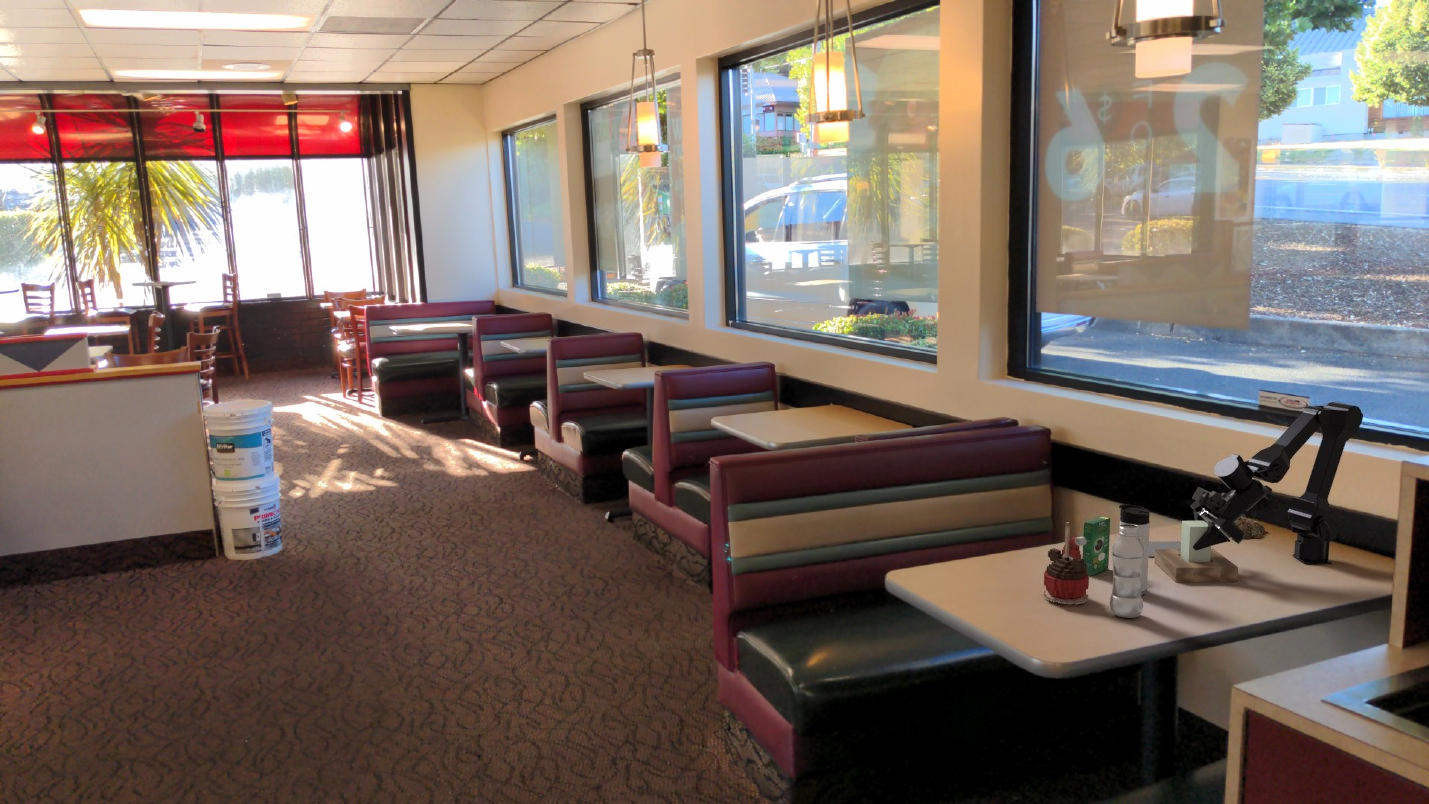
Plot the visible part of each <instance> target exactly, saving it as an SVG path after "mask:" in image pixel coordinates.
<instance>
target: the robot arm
mask: <svg viewBox="0 0 1429 804" xmlns="http://www.w3.org/2000/svg"><path fill="white" fill-rule="evenodd" d="M1363 419H1364V413H1362V410H1361V407H1359V406H1357V405H1352V404H1346V403H1340V402H1337V401H1336V402H1334V401H1332V402H1329V403H1327V404H1325V405H1307V406H1304V407H1303V408H1302V410H1301V413H1300V414H1299V416H1297V417H1296V419H1295V420H1294V421H1293V422H1292V423H1291V425H1290V426H1289V427H1288V428H1286V430H1285V431H1283V433H1282V435H1280V436H1279V438H1277V440H1276V441H1275V442H1274V443H1273V444H1272V445H1271V446H1268V447H1265V448H1263V449H1260V450H1259V451H1257V452H1256V453H1255V454H1254V455H1253V456H1251V458H1250V459H1248V460H1245V461H1244V459H1243V457H1242V456H1241V455H1239V454H1236V453H1231V455H1230V456H1228V457H1225V458H1223V459H1221V460H1219V461H1218V462H1217V463H1216V464H1215V465H1214V468H1213V472H1214V474H1215V475H1216V476H1217V478H1219V480H1221V481H1222V483H1223V484H1224V485H1226V487H1227V488H1228V489H1230V491H1229V492H1228V493H1226V492H1221V493H1219V492H1216V491H1215V490H1211V491H1208V490H1206V489H1204V488H1201V487H1200V486H1197V488H1196V490H1195V492H1194V493H1193V495H1192V498H1191V499H1192V500H1193V503H1191V504H1190V506H1189V507H1190V508H1191V509H1193V515H1194V521H1205V522H1206V523H1208V529H1207V531H1206V532H1205V533H1204V534H1203V535H1202V537H1201V538H1200V539H1199V540H1198V541H1197V542H1196V543H1195V545H1194V546H1193V548H1194V549H1195V550H1200V549H1203V548H1206V547H1209V546H1211V547H1212V546H1215V545H1219V544H1223V543H1224V544H1225V543H1230V542H1231V540H1232V541H1233V542H1234V543H1236V544H1237V545H1239V544H1240V543H1241V542H1242V541H1243V540H1245V539H1244V537H1245V533H1244V532H1243V531H1242V530H1241V529H1240V528H1239V527H1238V526H1237V525H1236V524H1234V523H1235V522H1236V521H1237V520H1238V519H1239V518H1240V517H1245V518H1247V517H1248V516H1249V515H1250V513H1249V510H1250V509H1252V508H1253V507H1254V506H1255V505H1256V504H1257V503H1258V502H1259V501H1260V500H1262V499H1263V498H1265V499H1266V500H1268V501H1272V499H1273V493H1272V492H1273V488H1271V487H1270V486H1268V485H1264V484H1263V483H1262V482H1265V483H1266V482H1267V483H1270V484H1278V483H1280V482H1281V481H1282V480H1283V478H1284V477H1285V476H1286V475H1287V473H1288V472H1289V470H1290V468H1291V460H1292V459H1293V457H1294V456H1295V455H1296V454H1297V452H1299V450H1301V448H1302V447H1303V446H1304V445H1305V444H1306V442H1308V441H1309V440H1310V438H1311V437H1312V436H1313V435H1314V434H1315V433H1316V432H1317V430H1319V429H1320V431H1321V432H1320V433H1321V435H1322V437H1321V442H1320V444H1319V448H1318V451H1317V452H1316V453H1317V454H1316V457H1315V460H1314V463H1313V465H1312V469H1311V472H1310V475H1309V478H1308V482H1307V485H1306V487H1305V488H1306V489H1305V490H1304V493H1303V494H1301V495H1300V496H1299V497H1295V496H1294V497H1293V498H1292V499H1291V504H1290V507H1289V509H1288V510H1287V513H1288V517H1287V519H1288V521H1289V524H1290V529H1291V533H1293V534H1297V535H1296V539H1295V541H1294V550H1293V554H1292V557H1293V558H1295V559H1297V561H1300V562H1301V563H1303V564H1306V565H1308V564H1310V565H1313V564H1314V565H1318V564H1319V565H1321V564H1323V565H1325V564H1329V565H1330V564H1331V565H1332V564H1333V561H1332V560H1330V559H1329V557H1330V555H1329V554H1330V544H1331V543H1330V542H1332V541H1335V540H1336V539H1337V536H1338V534H1339V530H1338V529H1337V528H1336V526H1335V525H1334V524H1333V523H1332V521H1330V519H1331V514H1332V510H1331V507H1330V506H1331V505H1330V503H1329V495H1330V492H1331V490H1332V486H1333V483H1334V480H1335V477H1336V475H1337V471H1338V468H1339V464H1340V462H1341V459H1342V455H1343V453H1344V450H1345V446H1346V443H1347V442H1348V441H1349V440H1350V439H1352V438H1353V437H1354V436H1355V435H1356V434H1357V432H1358V430H1359V429H1360V426H1361V425H1362V422H1363ZM1261 481H1262V482H1261ZM1230 538H1231V540H1230Z"/></svg>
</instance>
